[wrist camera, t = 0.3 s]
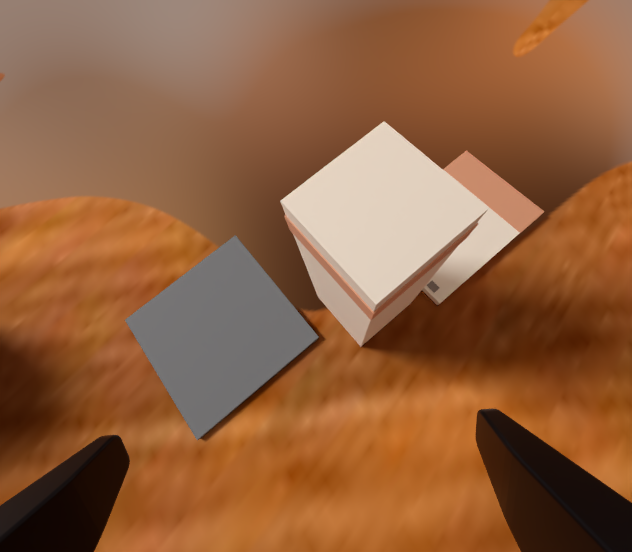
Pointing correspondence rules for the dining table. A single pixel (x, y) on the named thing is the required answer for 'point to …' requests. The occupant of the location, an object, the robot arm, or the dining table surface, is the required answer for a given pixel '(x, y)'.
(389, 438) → the dining table surface
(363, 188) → the beige tall block
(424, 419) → the dining table surface
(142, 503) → the dining table surface
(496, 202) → the cream block pink end
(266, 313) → the mat
